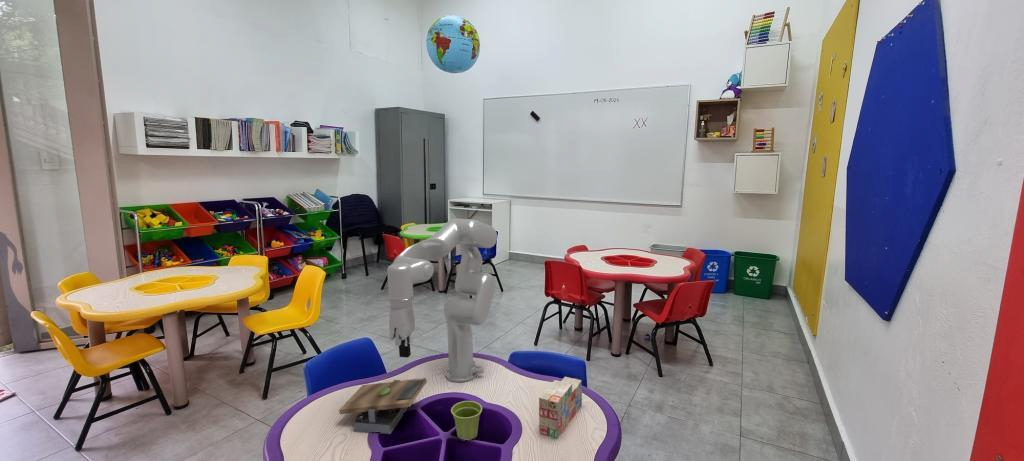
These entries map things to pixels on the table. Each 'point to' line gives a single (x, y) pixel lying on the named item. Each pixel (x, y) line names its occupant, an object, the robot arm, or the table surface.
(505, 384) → the table surface
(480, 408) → the plant pot
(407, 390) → the plate
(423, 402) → the table surface
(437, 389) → the table surface
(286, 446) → the table surface
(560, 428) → the stack of blocks
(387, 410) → the base
